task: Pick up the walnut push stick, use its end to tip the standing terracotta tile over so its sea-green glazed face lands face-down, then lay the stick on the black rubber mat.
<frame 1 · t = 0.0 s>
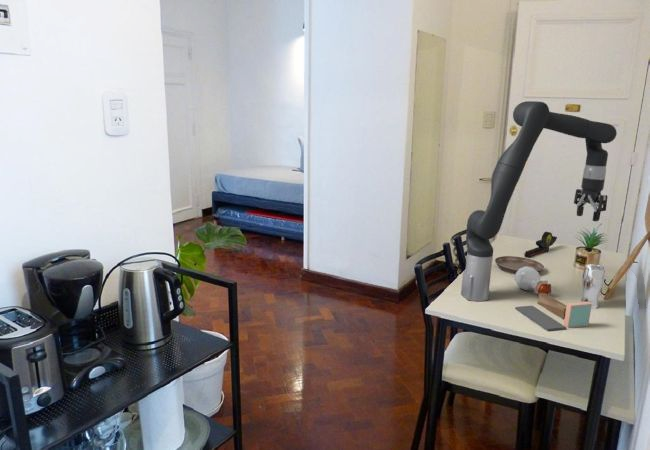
hand: (587, 218, 194), 29 cm above the table, tool pointing down, fingers open, 8 cm apart
silver upright cylinder: (588, 305, 185), on the table
push stick: (552, 311, 179), on the table
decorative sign: (540, 253, 249), on the table
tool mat: (539, 318, 173), on the table
potion bottle: (531, 292, 197), on the table
plant saucer: (518, 270, 223), on the table
glazed tile: (575, 325, 168), on the table
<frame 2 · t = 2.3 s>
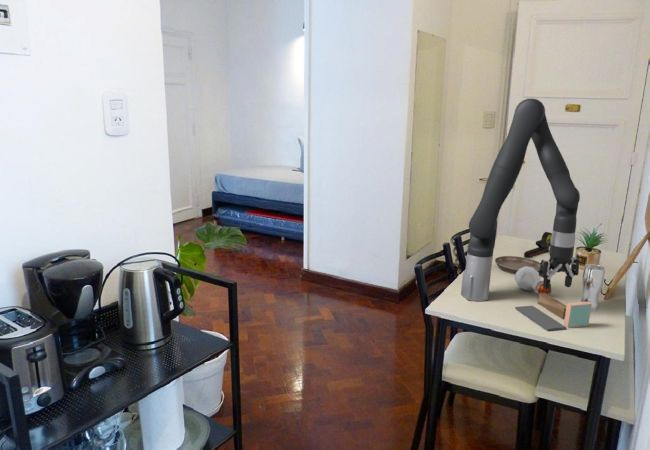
hand: (556, 287, 177), 9 cm above the table, tool pointing down, fingers open, 8 cm apart
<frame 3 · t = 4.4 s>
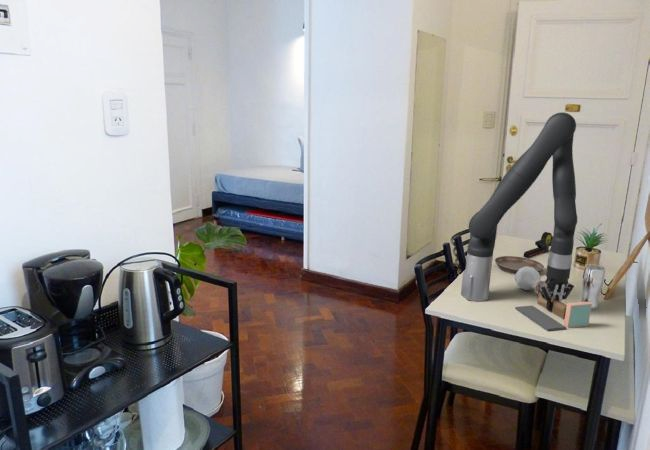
hand: (552, 310, 179), 0 cm above the table, tool pointing down, fingers closed on push stick, 2 cm apart
push stick: (552, 310, 179), on the table, touching gripper
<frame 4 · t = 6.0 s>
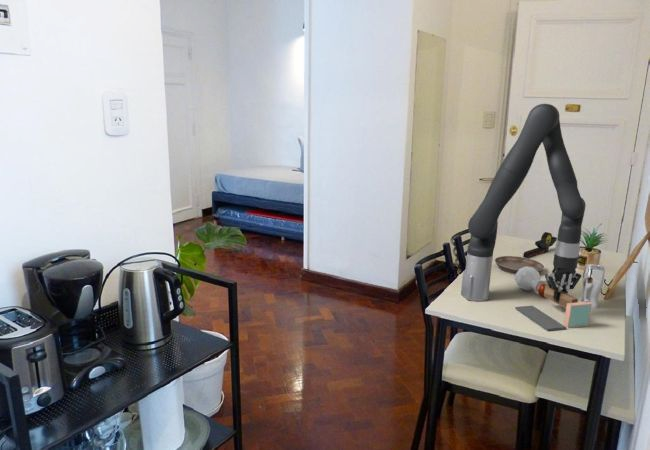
hand: (559, 300, 176), 5 cm above the table, tool pointing down, fingers closed on push stick
push stick: (559, 303, 176), point 4 cm above the table, touching gripper
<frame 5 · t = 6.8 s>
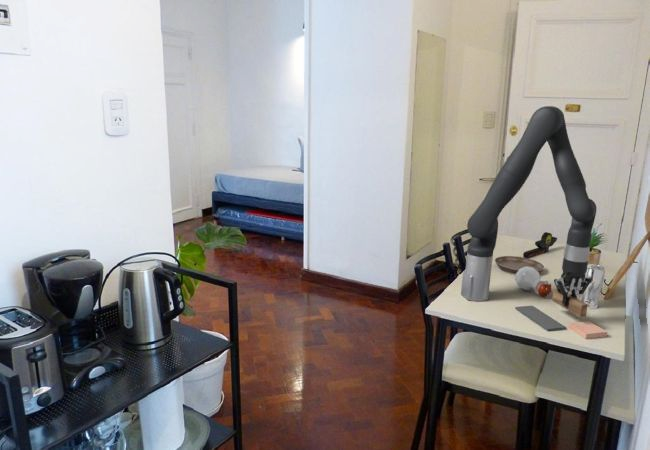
hand: (568, 305, 171), 5 cm above the table, tool pointing down, fingers closed on push stick
push stick: (568, 308, 172), point 4 cm above the table, touching gripper
glazed tile: (578, 324, 167), point 1 cm above the table, tilted 90°
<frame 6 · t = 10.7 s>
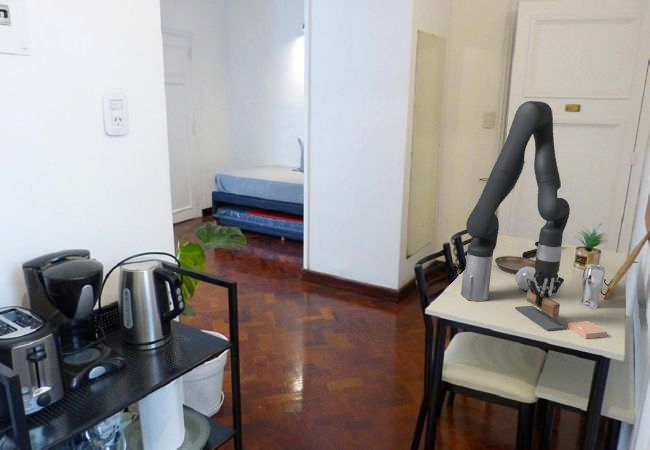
hand: (542, 305, 171), 5 cm above the table, tool pointing down, fingers closed on push stick
push stick: (541, 308, 171), point 4 cm above the table, touching gripper
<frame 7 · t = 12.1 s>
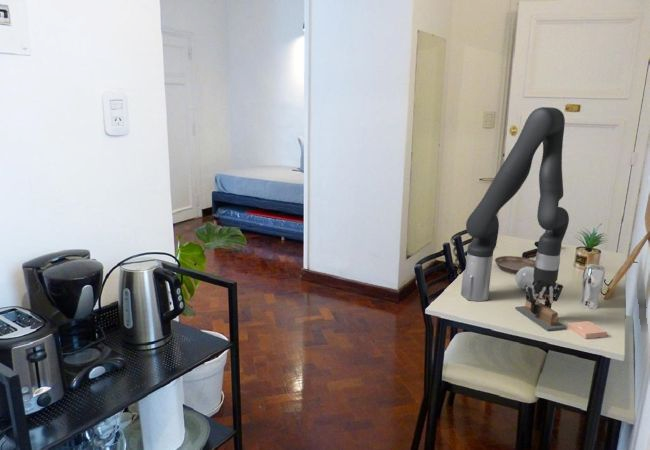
hand: (540, 312, 172), 2 cm above the table, tool pointing down, fingers open, 4 cm apart
push stick: (539, 316, 172), point 1 cm above the table, touching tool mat
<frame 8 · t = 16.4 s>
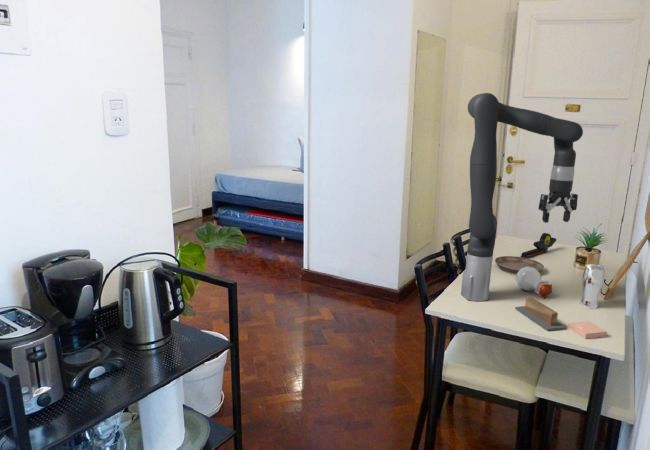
hand: (555, 221, 183), 30 cm above the table, tool pointing down, fingers open, 8 cm apart
at the end: glazed tile tilted 90°; push stick inside the target area on the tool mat (0.1 cm from its centre), point 0.8 cm above the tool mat's base; the gripper is holding nothing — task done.
